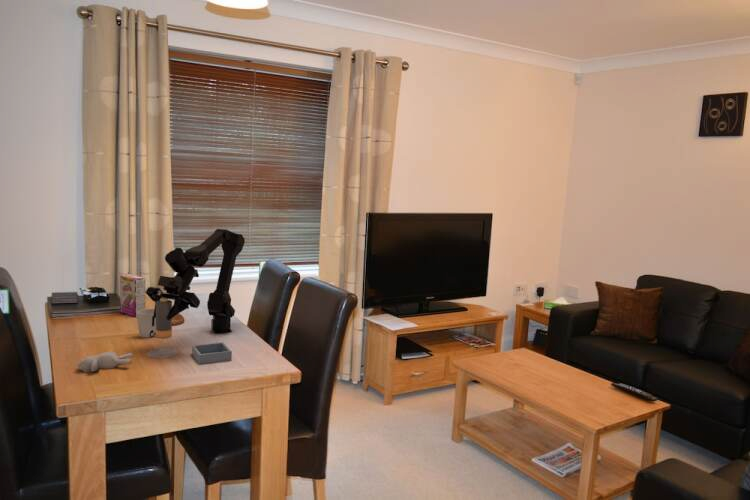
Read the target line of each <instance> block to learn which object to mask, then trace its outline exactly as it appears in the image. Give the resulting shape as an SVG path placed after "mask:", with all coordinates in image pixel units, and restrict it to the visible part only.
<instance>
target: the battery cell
mask: <svg viewBox="0 0 750 500" xmlns="http://www.w3.org/2000/svg"><path fill="white" fill-rule="evenodd" d="M172 306H173V300H172V299H168V298H160V300H158V301H156V336H155V338H156V339H162V340H163V339H164V340H165V339H169V338H172V336H173V328H172V327H173V326H172V321H173V320H172V318H171V319H170V320H168V319H167V316H168V314H169V312H170V310H171V308H172Z"/></svg>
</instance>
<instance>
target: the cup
mask: <svg viewBox="0 0 750 500" xmlns="http://www.w3.org/2000/svg"><path fill="white" fill-rule="evenodd" d="M154 309H155V308H145V309H143V310H139V311H137V317H136V319H137V322H136V323H137V326H138V327H137V328H138V332H139V335H140V338H147V339H148V338H154V337H155V338H156V318H154Z"/></svg>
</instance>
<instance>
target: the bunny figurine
mask: <svg viewBox="0 0 750 500" xmlns="http://www.w3.org/2000/svg"><path fill="white" fill-rule="evenodd" d="M133 357H134V355H133V353H132V352H128V353H125V354H121V355H118V354H116V352H115V351H113V350H112V351H110V350H109V351H104V352H101V353H100V354H96V355H87V356H86V357H84V359H82V360H80V361H79V363H78V364H77V370H78V371H79V370H80V371H82V372H84V373H91V372H97V371H100V369H115V368H116V367H118V366H119V365H124V366H125V365H130V364H131V359H130V358H133Z"/></svg>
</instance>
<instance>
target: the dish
mask: <svg viewBox="0 0 750 500" xmlns="http://www.w3.org/2000/svg"><path fill="white" fill-rule="evenodd" d="M232 352H233V351H232V349H230V348H229V347H228V346H227V344H225V342H223V341H222V342H214V343H213V342H212V343H204V344H194V345H191V355H192V357H193V358H194V359H195V361H196V362H197V364H198V365H205V364H211V363H212V364H213V363H221V362H227V361H232V359H233V358H232V356H233V354H232Z"/></svg>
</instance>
